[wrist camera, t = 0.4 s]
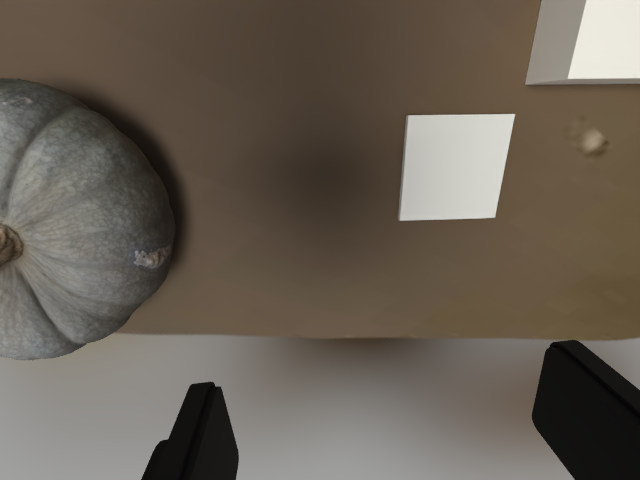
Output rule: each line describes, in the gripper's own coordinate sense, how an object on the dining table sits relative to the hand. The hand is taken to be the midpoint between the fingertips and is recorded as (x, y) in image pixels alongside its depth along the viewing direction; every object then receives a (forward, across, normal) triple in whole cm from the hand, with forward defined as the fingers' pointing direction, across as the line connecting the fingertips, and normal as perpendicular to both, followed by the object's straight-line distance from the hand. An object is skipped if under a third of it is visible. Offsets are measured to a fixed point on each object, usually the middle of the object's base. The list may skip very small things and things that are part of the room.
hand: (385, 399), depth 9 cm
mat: (+31, -16, 0) cm, 35 cm away
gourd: (+31, +27, -1) cm, 41 cm away
